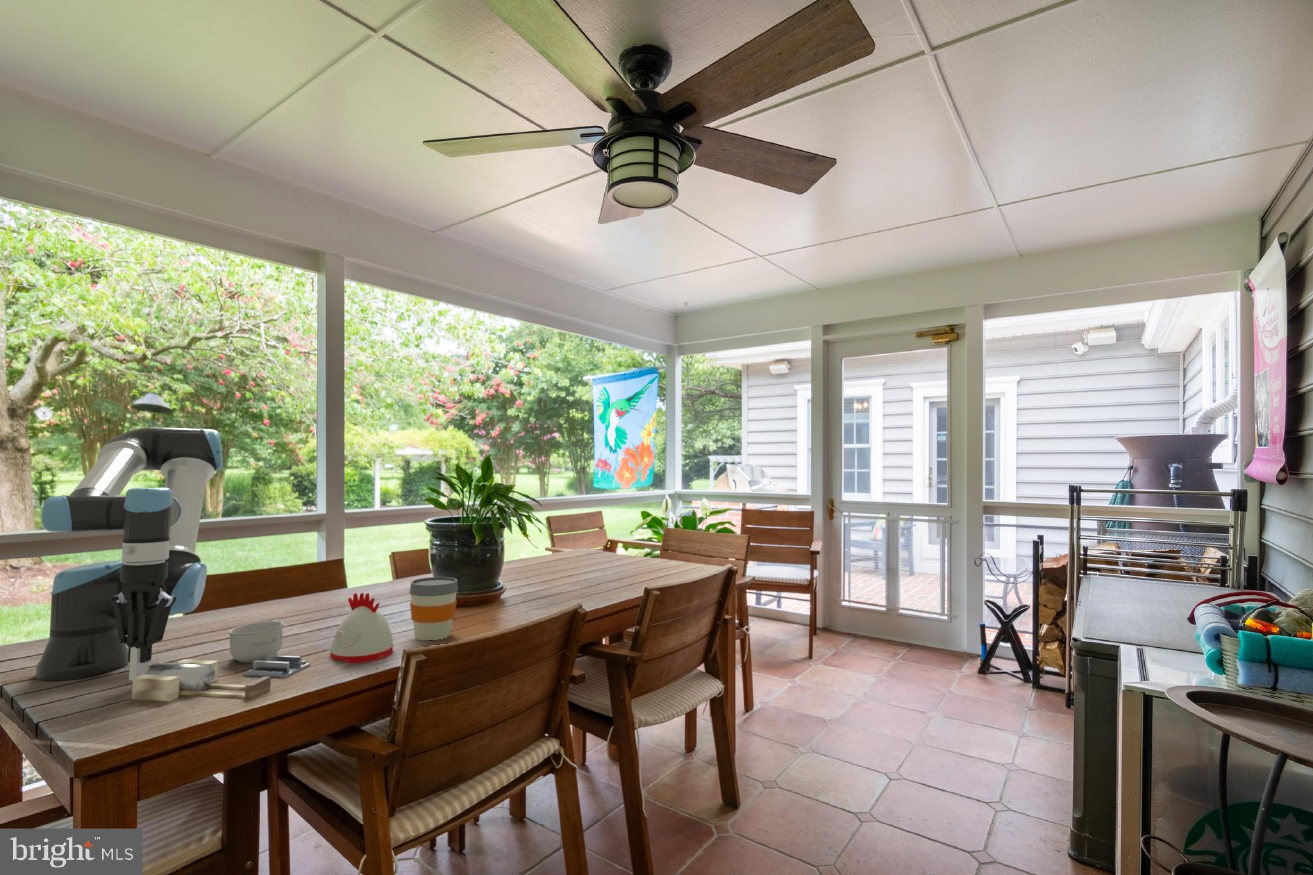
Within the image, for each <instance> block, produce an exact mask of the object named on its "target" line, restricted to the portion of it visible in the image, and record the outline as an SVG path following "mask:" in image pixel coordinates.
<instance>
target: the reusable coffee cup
mask: <svg viewBox="0 0 1313 875" xmlns="http://www.w3.org/2000/svg"><path fill="white" fill-rule="evenodd" d="M458 591H459V586H458V579H457V578H455V577H449V576H432V577H431V576H430V577H421V578H416V579H414V580H411V581H410V587H409V594H410V599H411V601H410V603H409V606H410V608H409V609H410V617H411V621H412V622H413V630H414V638H416V639H415V640H417V641H420V640H423V641H422V642H425V641H424V640H436V641H438V640H437V639H441V638H445V639H447V638H448V637H447V636H449V635H451V630H452V624H453V623H452V622H453V618H455V616H456V615H455V613H456V607H457V602H458V601H457V592H458ZM446 637H447V638H446ZM449 637H450V636H449ZM441 640H442V639H441Z"/></svg>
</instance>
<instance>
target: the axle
mask: <svg viewBox="0 0 1313 875" xmlns="http://www.w3.org/2000/svg"><path fill="white" fill-rule="evenodd" d="M145 675H160V676H179V677H180V679H179V690H193V691H206V690H207V689H210V688H209V687H210V685H211V684H213V683H214V682H213V680H214V677H215V670H214V668H213V666H211V665H199V664H179V663H176V662H174V663H173V662H160V661H159V662H155V663H153V664H152V665H150V666H149V669H148V670H147V671H146V673H145Z"/></svg>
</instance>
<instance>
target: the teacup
mask: <svg viewBox="0 0 1313 875" xmlns="http://www.w3.org/2000/svg"><path fill="white" fill-rule="evenodd" d="M283 626H284V622H282V621H281V620H280V619H273V620H268V621H267V620H266V621H265V620H264V621H257V622H252V623H245V624H243V625H239V626H236V627H233V628H231V629H230V630H229V631H228V634H229V649H230V650H229V651H230V652H229V653H230V656H231V657H232V658H233V659H234V660H236V661H238V662H240V663H253V661H255V660H257V661H266V656H267V655H277V654H278V653H279V651H280V650H281V649H282V647H283V643H284V642H283V640H284V639H283V638H284V636H283V635H284V633H283V631H284V630H283V628H284V627H283Z"/></svg>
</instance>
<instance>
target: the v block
mask: <svg viewBox="0 0 1313 875" xmlns="http://www.w3.org/2000/svg"><path fill="white" fill-rule="evenodd" d="M310 666H311V663H310V662H307V660H302V656H299V655H298V656H297V655H296V656H295V655H294V656H293V655H279V654H278V655H277V654H275V655H267V656H266V660H264V661H257V660H255V661H253V662H252V668H251V669H248V670H246V671H244V672H242V676H244V677H260V678H262V677H264V676H265V677H271V678H282V679H286V678H288V677H291V676H292V675H294V674H296V673H298V672H300V671H302V670H304V669H306V668H309V667H310Z"/></svg>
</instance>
